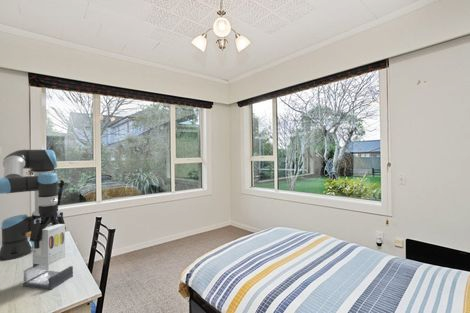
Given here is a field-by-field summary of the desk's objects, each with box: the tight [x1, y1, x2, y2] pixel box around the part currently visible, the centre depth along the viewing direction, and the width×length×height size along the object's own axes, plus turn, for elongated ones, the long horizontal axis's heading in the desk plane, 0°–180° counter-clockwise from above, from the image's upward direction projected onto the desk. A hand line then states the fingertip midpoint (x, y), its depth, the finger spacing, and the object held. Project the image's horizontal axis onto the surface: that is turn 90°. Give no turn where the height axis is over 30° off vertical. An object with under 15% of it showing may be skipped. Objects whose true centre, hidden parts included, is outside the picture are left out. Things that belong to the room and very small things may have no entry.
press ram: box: [23, 231, 49, 282], centre depth 118 cm, size 11×2×23 cm, turn 171°
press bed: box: [21, 265, 74, 291], centre depth 117 cm, size 12×16×5 cm
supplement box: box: [32, 223, 66, 266], centre depth 116 cm, size 10×9×17 cm
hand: (49, 249), depth 116 cm, fingers closed on supplement box, 10 cm apart
